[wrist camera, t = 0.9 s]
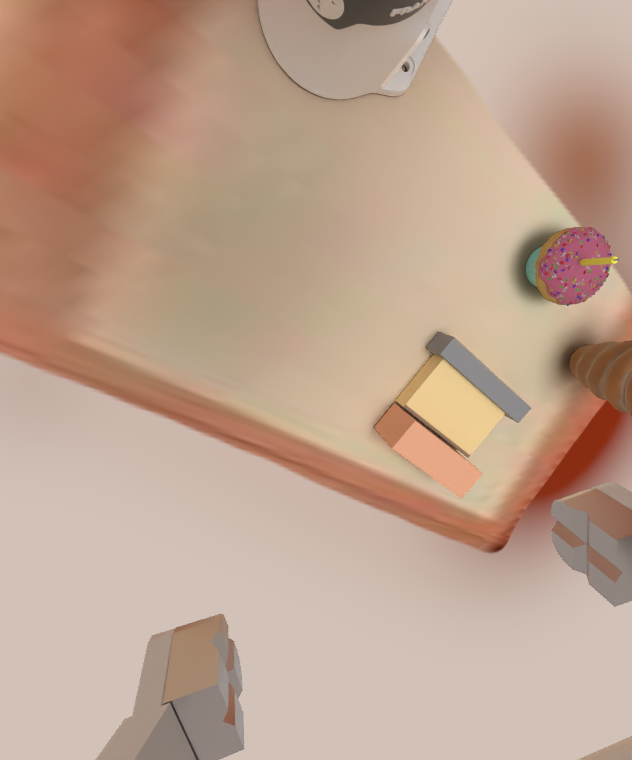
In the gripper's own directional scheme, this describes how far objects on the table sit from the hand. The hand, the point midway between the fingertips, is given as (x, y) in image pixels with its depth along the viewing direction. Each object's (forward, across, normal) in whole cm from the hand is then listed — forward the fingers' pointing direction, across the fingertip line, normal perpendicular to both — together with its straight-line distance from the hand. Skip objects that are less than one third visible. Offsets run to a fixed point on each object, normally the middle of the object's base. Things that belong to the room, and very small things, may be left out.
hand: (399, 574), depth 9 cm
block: (+38, -16, +19) cm, 45 cm away
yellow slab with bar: (+38, -21, +14) cm, 45 cm away
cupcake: (+38, -35, +1) cm, 51 cm away
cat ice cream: (+38, -39, +14) cm, 56 cm away
